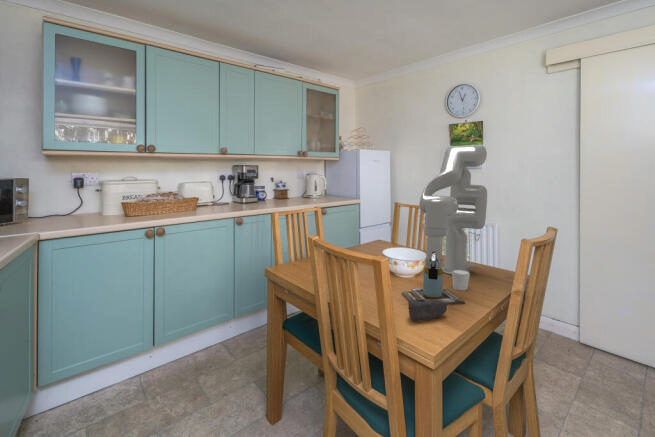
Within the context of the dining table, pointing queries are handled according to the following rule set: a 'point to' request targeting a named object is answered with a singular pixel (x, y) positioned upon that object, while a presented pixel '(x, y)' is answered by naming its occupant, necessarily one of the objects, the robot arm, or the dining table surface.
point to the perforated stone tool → (426, 309)
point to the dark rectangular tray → (447, 298)
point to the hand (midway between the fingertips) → (433, 274)
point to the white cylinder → (460, 279)
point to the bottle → (432, 282)
